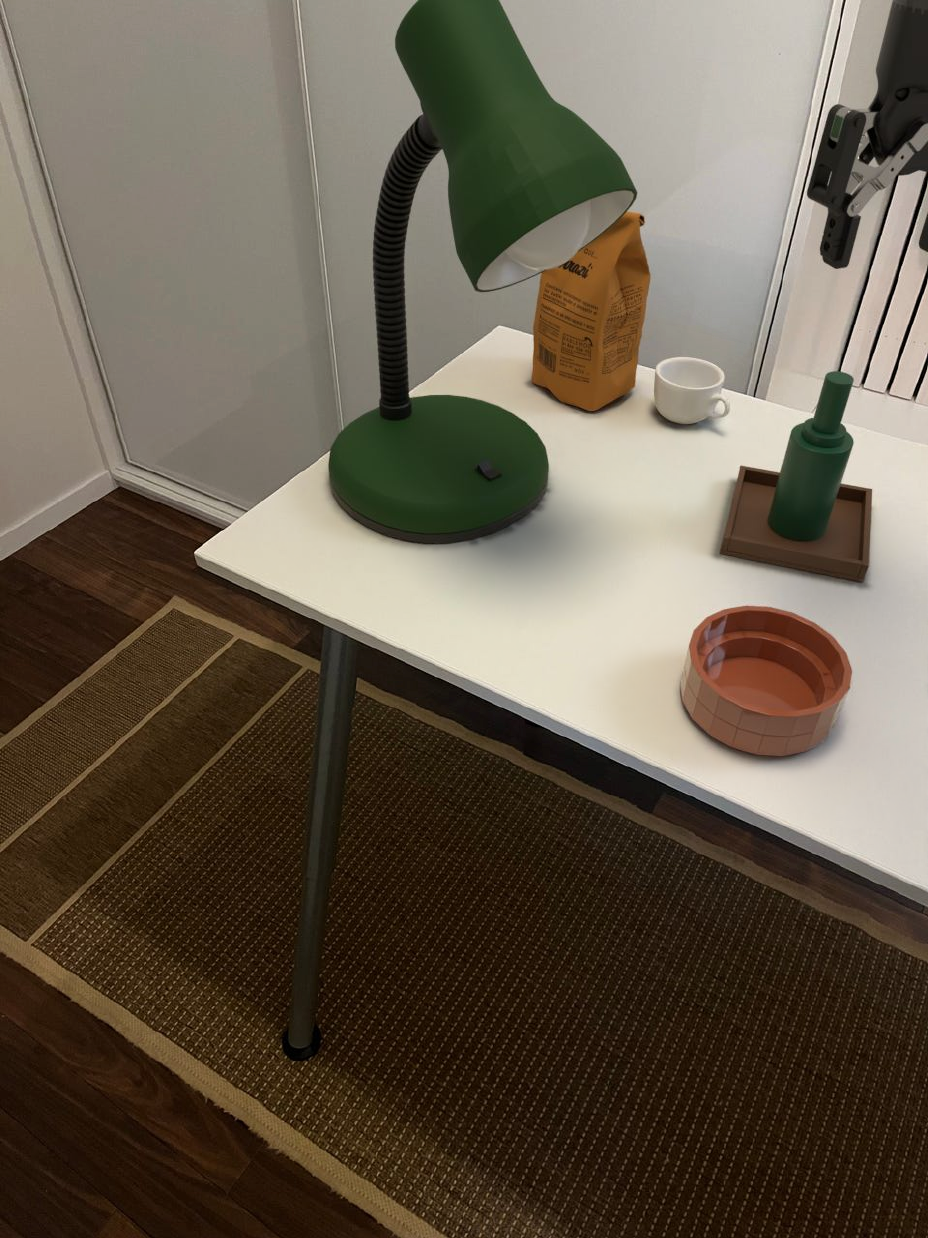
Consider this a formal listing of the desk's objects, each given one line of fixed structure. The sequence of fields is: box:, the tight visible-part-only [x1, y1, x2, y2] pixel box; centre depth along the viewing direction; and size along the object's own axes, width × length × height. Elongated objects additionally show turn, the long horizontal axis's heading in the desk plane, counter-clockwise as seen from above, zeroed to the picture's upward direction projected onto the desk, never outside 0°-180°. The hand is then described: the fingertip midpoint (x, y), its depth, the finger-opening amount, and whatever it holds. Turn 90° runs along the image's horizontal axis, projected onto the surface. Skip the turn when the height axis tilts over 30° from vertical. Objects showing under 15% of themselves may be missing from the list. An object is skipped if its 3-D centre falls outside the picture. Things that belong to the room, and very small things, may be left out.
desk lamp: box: [327, 0, 638, 544], centre depth 83 cm, size 31×23×45 cm
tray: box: [719, 465, 873, 583], centre depth 93 cm, size 13×13×2 cm
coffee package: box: [531, 211, 652, 412], centre depth 108 cm, size 10×12×22 cm
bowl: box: [679, 605, 853, 757], centre depth 75 cm, size 12×12×5 cm
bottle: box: [768, 370, 855, 541], centre depth 88 cm, size 6×6×16 cm
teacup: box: [653, 356, 731, 425], centre depth 108 cm, size 10×8×5 cm
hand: (883, 257), depth 69 cm, fingers open, 8 cm apart
